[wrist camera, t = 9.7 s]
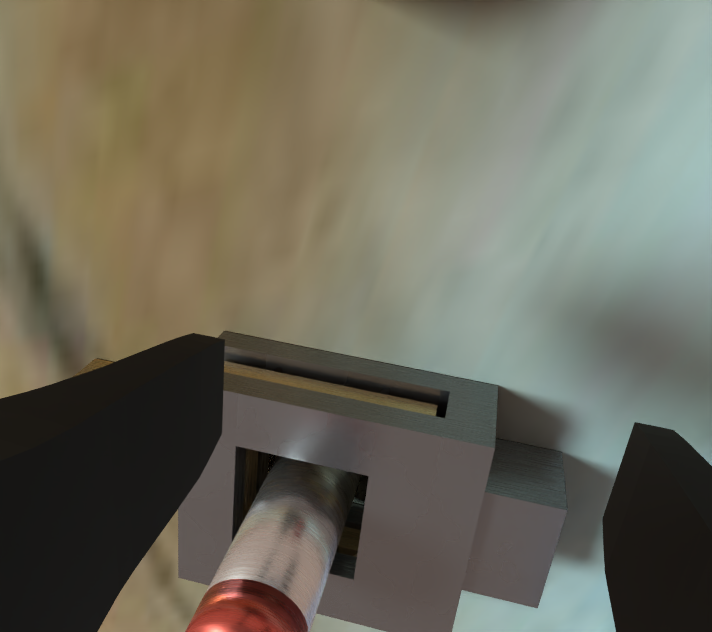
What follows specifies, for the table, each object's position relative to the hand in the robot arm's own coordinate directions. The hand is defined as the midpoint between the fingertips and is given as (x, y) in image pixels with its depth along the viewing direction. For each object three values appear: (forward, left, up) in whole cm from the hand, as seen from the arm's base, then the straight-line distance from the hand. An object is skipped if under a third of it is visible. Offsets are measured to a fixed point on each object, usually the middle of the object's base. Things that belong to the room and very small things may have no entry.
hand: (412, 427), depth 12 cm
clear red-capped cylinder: (-4, +8, -10) cm, 13 cm away
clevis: (-4, +8, -10) cm, 13 cm away
